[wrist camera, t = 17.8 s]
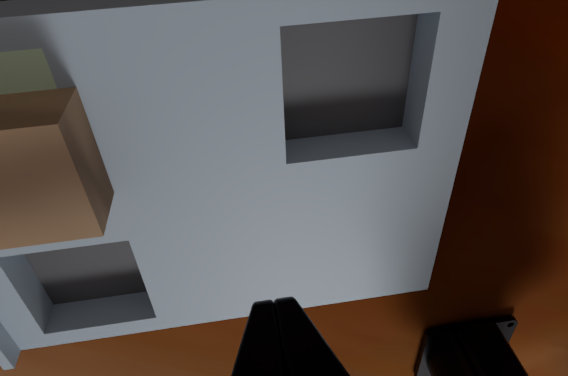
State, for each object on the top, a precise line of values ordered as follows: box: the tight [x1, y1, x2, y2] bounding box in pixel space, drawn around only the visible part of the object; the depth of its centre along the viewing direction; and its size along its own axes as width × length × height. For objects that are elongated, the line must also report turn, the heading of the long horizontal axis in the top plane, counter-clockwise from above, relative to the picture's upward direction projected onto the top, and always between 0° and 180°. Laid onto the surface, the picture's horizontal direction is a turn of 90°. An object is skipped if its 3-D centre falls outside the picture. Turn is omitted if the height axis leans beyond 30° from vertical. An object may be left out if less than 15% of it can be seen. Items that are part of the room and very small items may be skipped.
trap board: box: [0, 0, 498, 370], centre depth 19 cm, size 16×22×3 cm
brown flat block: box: [0, 87, 114, 250], centre depth 15 cm, size 4×4×2 cm
